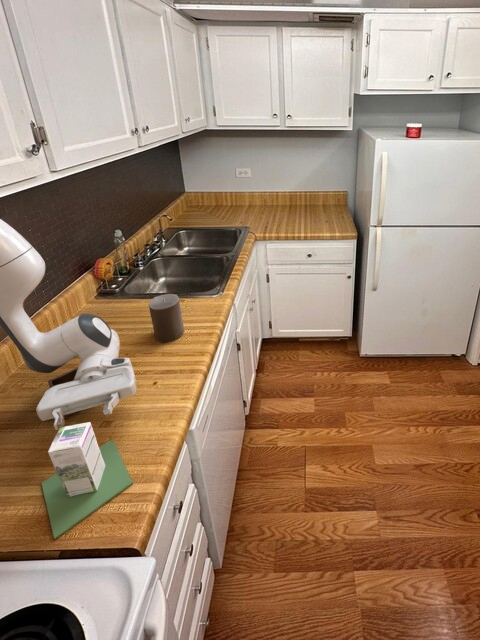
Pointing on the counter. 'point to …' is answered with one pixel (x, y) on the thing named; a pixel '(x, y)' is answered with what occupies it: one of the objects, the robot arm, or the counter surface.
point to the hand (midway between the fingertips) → (83, 419)
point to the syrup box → (77, 459)
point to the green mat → (79, 507)
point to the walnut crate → (63, 379)
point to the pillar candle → (166, 317)
